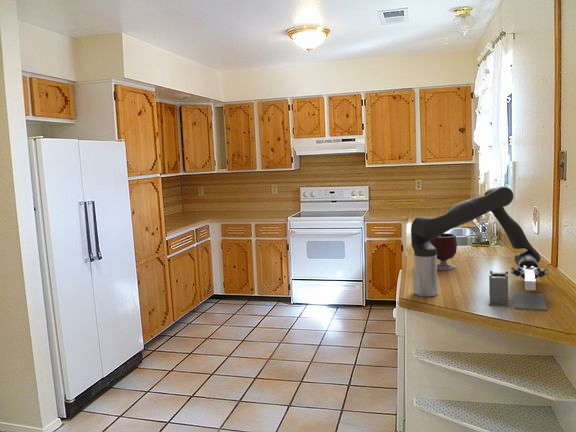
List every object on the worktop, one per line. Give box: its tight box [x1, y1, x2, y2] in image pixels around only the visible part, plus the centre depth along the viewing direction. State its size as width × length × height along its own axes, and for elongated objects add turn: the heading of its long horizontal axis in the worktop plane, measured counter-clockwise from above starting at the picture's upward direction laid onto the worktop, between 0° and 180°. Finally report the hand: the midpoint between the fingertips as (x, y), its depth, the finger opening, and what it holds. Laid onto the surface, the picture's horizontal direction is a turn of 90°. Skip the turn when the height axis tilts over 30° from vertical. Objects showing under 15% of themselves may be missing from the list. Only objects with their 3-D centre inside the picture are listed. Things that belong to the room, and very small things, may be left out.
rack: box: [488, 269, 510, 308], centre depth 196 cm, size 11×7×12 cm, turn 156°
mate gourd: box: [430, 232, 458, 271], centre depth 260 cm, size 16×14×20 cm
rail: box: [524, 269, 537, 291], centre depth 194 cm, size 18×4×4 cm, turn 156°
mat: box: [513, 292, 548, 311], centre depth 195 cm, size 21×11×1 cm, turn 156°
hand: (529, 276), depth 197 cm, fingers closed on rail, 3 cm apart
